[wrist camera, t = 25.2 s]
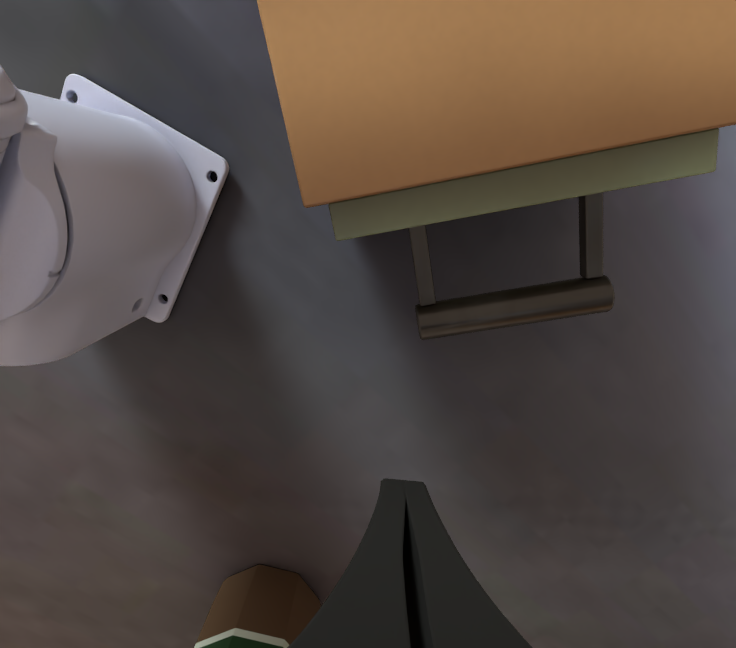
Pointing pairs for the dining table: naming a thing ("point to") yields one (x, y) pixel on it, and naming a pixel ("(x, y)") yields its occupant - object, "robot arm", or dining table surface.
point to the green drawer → (514, 191)
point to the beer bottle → (259, 610)
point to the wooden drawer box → (488, 83)
